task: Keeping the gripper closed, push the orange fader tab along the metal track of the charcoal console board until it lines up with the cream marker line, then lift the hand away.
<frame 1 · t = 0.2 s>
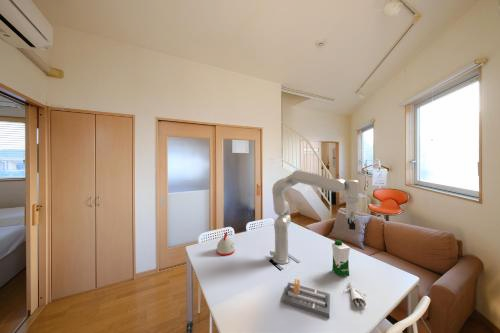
hand: (351, 226, 113), 31 cm above the table, fingers open, 9 cm apart
woman figurine: (354, 297, 96), on the table
console: (306, 300, 94), on the table
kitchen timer: (225, 251, 145), on the table
fader: (296, 287, 96), point 5 cm above the table, slide at 0.0 cm
milk carton: (340, 273, 116), on the table
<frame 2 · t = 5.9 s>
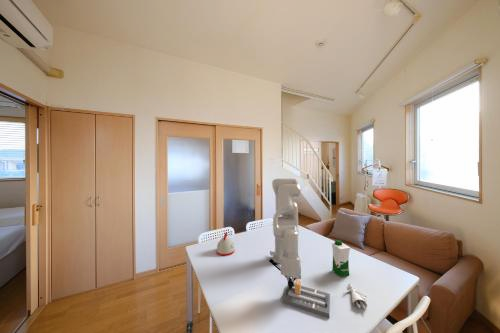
hand: (290, 287, 97), 4 cm above the table, fingers closed
fader: (297, 287, 95), point 5 cm above the table, slide at 0.6 cm, touching gripper
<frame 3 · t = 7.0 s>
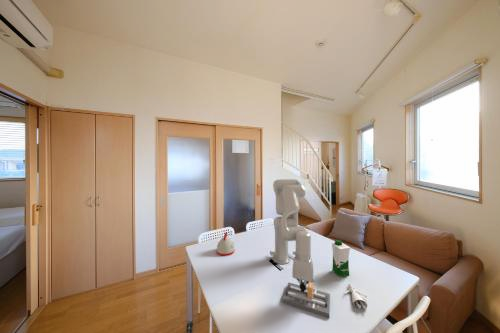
hand: (302, 290, 94), 4 cm above the table, fingers closed
fader: (310, 291, 93), point 5 cm above the table, slide at 6.9 cm, touching gripper
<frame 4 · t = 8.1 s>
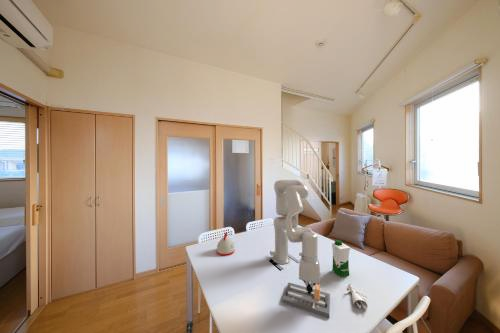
hand: (309, 292, 93), 4 cm above the table, fingers closed
fader: (317, 293, 91), point 5 cm above the table, slide at 10.2 cm, touching gripper
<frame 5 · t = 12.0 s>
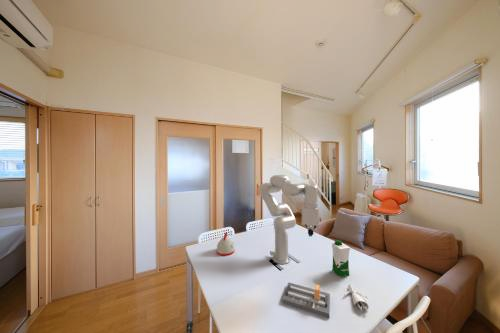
hand: (310, 235, 109), 27 cm above the table, fingers closed
fader: (317, 293, 91), point 5 cm above the table, slide at 10.2 cm
at the end: fader slide at 10.2 cm; the gripper is holding nothing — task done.
